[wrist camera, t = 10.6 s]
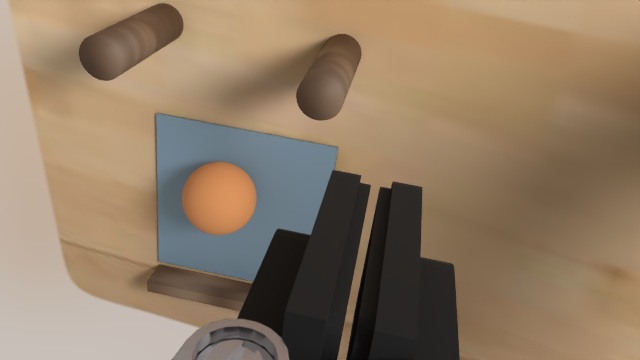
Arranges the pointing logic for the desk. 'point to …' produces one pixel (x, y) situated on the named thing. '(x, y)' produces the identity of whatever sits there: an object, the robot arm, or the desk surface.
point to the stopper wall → (199, 287)
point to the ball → (219, 198)
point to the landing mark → (269, 180)
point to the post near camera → (130, 41)
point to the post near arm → (329, 78)
